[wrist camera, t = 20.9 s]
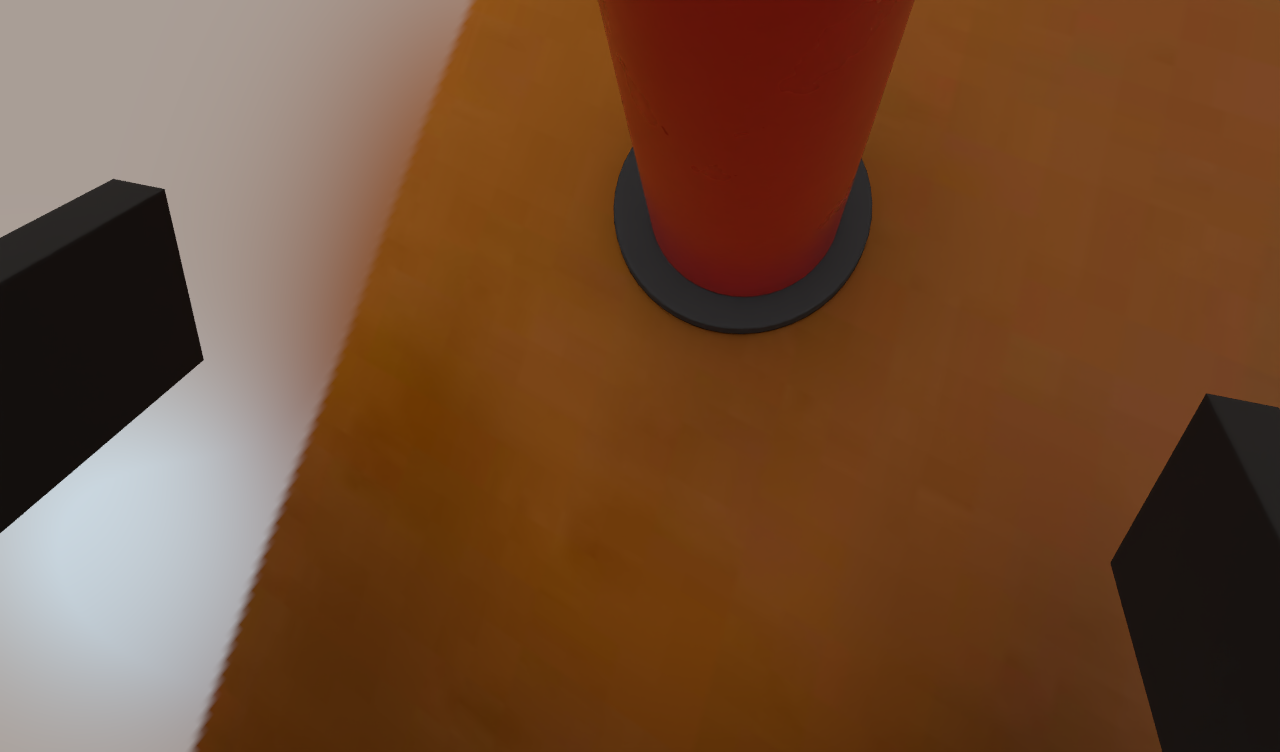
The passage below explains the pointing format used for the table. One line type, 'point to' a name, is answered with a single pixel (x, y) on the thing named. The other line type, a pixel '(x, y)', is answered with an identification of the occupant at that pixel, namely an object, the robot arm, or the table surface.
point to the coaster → (733, 310)
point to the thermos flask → (750, 125)
